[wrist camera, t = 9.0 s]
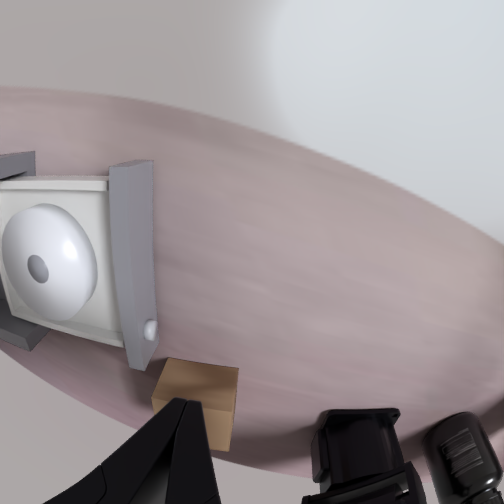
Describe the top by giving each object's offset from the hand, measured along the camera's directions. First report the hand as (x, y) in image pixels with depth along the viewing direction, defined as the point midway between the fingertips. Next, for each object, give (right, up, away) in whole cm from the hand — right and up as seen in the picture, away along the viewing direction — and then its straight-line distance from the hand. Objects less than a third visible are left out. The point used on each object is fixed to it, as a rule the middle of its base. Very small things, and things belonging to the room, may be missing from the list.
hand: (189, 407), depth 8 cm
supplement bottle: (+23, -14, +15) cm, 30 cm away
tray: (-9, +5, +9) cm, 14 cm away
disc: (-10, +4, +8) cm, 14 cm away
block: (-2, -5, +13) cm, 14 cm away
